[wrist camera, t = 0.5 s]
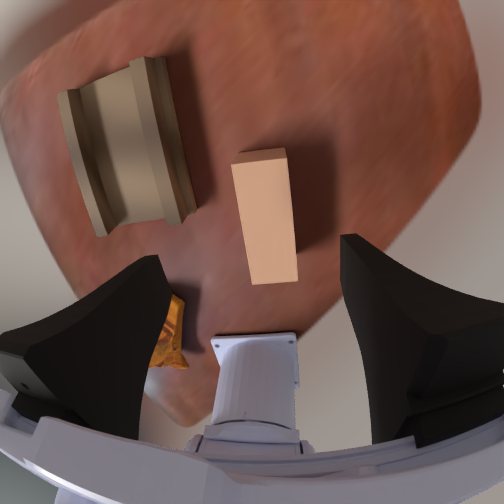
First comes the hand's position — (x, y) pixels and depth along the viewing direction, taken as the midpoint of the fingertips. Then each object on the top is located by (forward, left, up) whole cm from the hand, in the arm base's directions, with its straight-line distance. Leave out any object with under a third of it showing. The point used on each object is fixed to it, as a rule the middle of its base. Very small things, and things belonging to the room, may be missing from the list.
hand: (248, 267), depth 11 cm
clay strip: (-1, 0, -10) cm, 10 cm away
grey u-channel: (+5, +9, -9) cm, 13 cm away
